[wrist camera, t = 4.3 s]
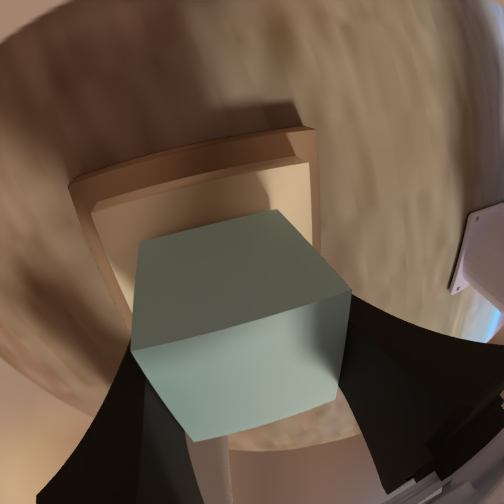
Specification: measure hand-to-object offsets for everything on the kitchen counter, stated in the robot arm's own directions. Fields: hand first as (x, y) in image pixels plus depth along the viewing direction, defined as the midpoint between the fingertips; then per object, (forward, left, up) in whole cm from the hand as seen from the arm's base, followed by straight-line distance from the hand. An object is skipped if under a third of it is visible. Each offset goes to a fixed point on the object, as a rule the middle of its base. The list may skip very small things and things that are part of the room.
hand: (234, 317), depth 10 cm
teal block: (0, 0, -2) cm, 2 cm away
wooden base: (0, 0, -5) cm, 5 cm away
